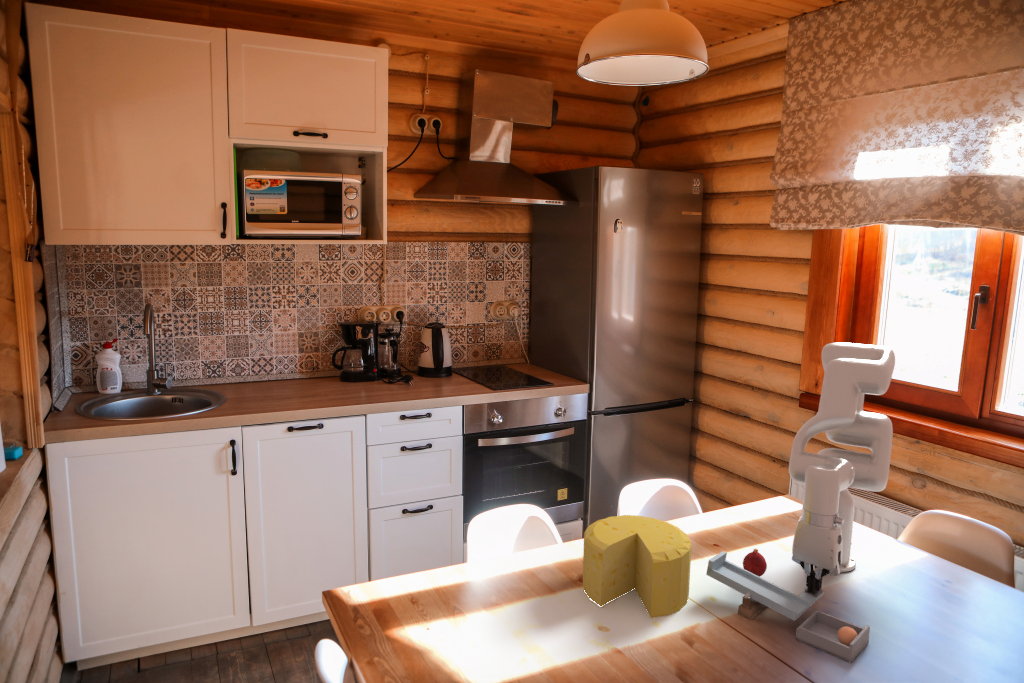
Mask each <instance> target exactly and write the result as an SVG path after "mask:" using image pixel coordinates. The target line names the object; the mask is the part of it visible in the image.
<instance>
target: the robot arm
mask: <svg viewBox="0 0 1024 683" xmlns="http://www.w3.org/2000/svg"><path fill="white" fill-rule="evenodd" d="M821 364H822V369H823V372H824V375H823V380H822V386H821V394H820V398H819V404H818V411H817V413H816V414H815V415H814V416H812V417H811V418H809V420H806V422H804V423H803V425H802V426H801V427H800V428H799V429H798V431H796V432H797V433H796V434H795V436H794V438H793V440H792V441H793V442H792V445H791V451H790V457H789V462H788V473H789V476H790V478H791V479H792V480H793V481H795V482H797V483H800V484H804V486H803V497H802V510H801V516H800V517H799V518H798V521H797V523H796V527H795V530H794V531H795V532H794V535H793V539H792V540H793V541H792V546H791V547H792V548H791V549H792V550H791V551H792V552H791V554H792V557H791V560H792V562H794V563H796V564H798V565H800V567H801V568H802V570H803V571H804V574H805V576H806V579H805V587H807V588H806V589H807V592H809V593H812V594H814V595H815V594H816V593H817V592H818V591H820V590H822V586H823V585H822V584H823V578H824V577H826V576H827V575H829V576H839V575H841V574H840V573H844V572H850V571H853V570H854V569H855V568H856V564H857V562H856V560H855V558H854V557H853V556H852V555H851V550H852V548H851V547H852V538H853V527H854V526H853V525H854V516H855V514H854V513H855V501H854V498H853V496H852V494H851V492H850V491H849V488H853V489H858V490H861V491H862V490H863V491H869V492H875V493H877V492H878V493H879V492H882V491H884V490H885V489H886V487H887V485H888V481H889V474H890V466H891V465H890V464H891V456H892V447H893V446H892V445H893V435H894V433H893V432H894V429H893V423H892V420H891V419H890V417H889V416H887V415H885V414H884V413H883V414H882V413H877V412H871V411H865V410H864V402H865V395H873V396H874V395H875V396H883V395H884V394H886V392H888V390H889V387H890V385H891V381H892V377H893V374H894V370H895V365H896V356H895V352H894V350H893V349H892V348H890V347H889V346H884V345H875V344H864V343H857V342H856V343H854V342H853V343H852V342H841V341H840V342H831V343H827V344H825V345H824V346H823V347H822V350H821ZM824 432H825V436H826V438H827V439H828V441H830V442H832V443H835V444H840V445H845V446H851V447H858V448H864V449H869V451H870V452H871V453H865V452H859V451H855V450H850V449H849V450H848V449H841V448H834V447H827V448H826V447H825V448H823V449H821V450H819V451H818V452H817V453H813V452H807V451H805V449H806V447H807V444H808V442H809V441H810V440H811V439H812V438H813V437H815V436H817V435H818V434H821V433H824ZM815 567H816V569H815Z"/></svg>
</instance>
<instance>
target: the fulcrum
mask: <svg viewBox="0 0 1024 683" xmlns="http://www.w3.org/2000/svg"><path fill="white" fill-rule="evenodd" d="M741 602H742V603H741V604H740V605H738V606H737V607H738V608H737V615H738V616H741V617H743V618H745V619H748V620H750V621H751V620H753V619H754V618H755V617H757V615H759V614H760V613H761V612H762V611H764V610H765V609H766V608H768V607H767V606H765V605H763V604H761V603H760V602H758V601H756V600H754V599H752V598H750V597H749V598H747V599H745V598H744V596H742V601H741Z"/></svg>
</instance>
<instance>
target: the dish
mask: <svg viewBox="0 0 1024 683" xmlns="http://www.w3.org/2000/svg"><path fill="white" fill-rule="evenodd" d="M842 627H851V628H852V629H854V630H855V631H856V633H857V634H858V635H857V637H856V638H855V639H854V640H853V641H852V642H851V643H850V647H849V646H846V645H844V644H842V643H841V642H840V641H839V639H838V631H839V629H840V628H842ZM870 629H871V625H868V624H866V625H865V627H862V626H860V625H856V624H855V623H853V622H850V621H847V620H844V619H842V618H839V617H837V616H834V615H831V614H829V613H826V612H824V611H821V610H817V611H814V612H812V614H811V615H810V616H808V617H807V618H806V619H805V620H804V621H803V622H802V623H801V624H800V625H799V626H797V627H796V630H795V640H796V641H799V642H801V643H804V644H805V645H808V646H810V647H813V648H815V649H818V650H820V651H822V652H824V653H826V654H829V655H832V656H834V657H836V658H839V659H841V660H843V661H845V662H848V663H850V664H852V663H853V662H854V661H855V659H856V658H857V657H858V656H859V654H860V653H861V652H863V650H864V649H865V647H867V645H868V644H869V641H870Z"/></svg>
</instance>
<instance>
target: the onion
mask: <svg viewBox="0 0 1024 683" xmlns="http://www.w3.org/2000/svg"><path fill="white" fill-rule="evenodd" d="M767 564H768V563H767V561H766V559H765V557H764V556H763V555H762V554H761V553H760V552H759V550H758V548H754V549H753V550H752V551H751V552H749V553H747V554H746V555H745V556H744V558H743V560H742V568H743V569H745V570H747V571H749V572H751V573H753V574H755V575H757V576H759V577H762V576H764V574H765V573H766V572H767V568H768V565H767Z"/></svg>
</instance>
